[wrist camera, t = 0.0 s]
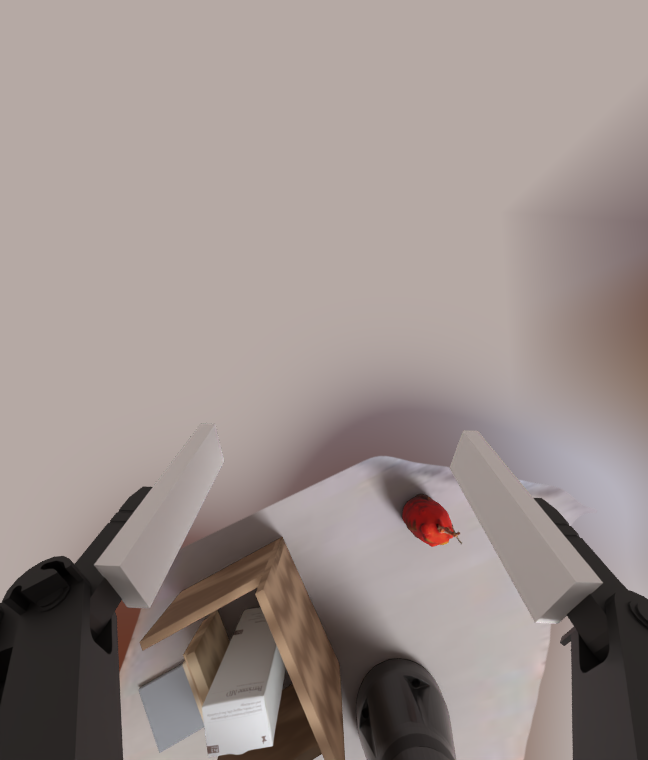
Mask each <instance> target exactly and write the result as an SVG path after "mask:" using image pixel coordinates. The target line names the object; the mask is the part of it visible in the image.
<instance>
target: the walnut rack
mask: <svg viewBox="0 0 648 760" xmlns="http://www.w3.org/2000/svg"><path fill="white" fill-rule="evenodd" d="M257 587H258V588H257ZM255 588H257V591H256V593H255V595H256V597H257V600H258V602H259V604H260V607H261V609H262V612H263V614H264V616H265V619H266V621H267V623H268V626H269V628H270V631H271V633H272V635H273V638H274V640H275V643H276V645H277V647H278V650H279V652H280V655H281V657H282V659H283V662H284V664H285V667H286V669H287V671H288V674H289V676H290V678H291V681H292V683H293V684H292V685H290V686H288V687H287V688H285V689H283V690H282V694H281V700H280V705H279V711H278V717H277V722H276V728H275V734H274V741H273V746H271V747H265V748H260V749H253V750H248V751H247V752H245V753H243V754H240V755H234V754H226V755H220V756H218V759H217V760H313V759H314V758H316V757H318V756H319V755H321V754H322V755H323V757H324V760H345V751H344V732H343V714H342V696H341V677H340V665H339V662H338V660H337V658H336V656H335V653H334V651H333V649H332V647H331V644H330V642H329V640H328V638H327V636H326V633H325V631H324V629H323V627H322V624H321V622H320V620H319V618H318V615H317V613H316V611H315V609H314V606H313V604H312V602H311V600H310V598H309V595H308V593H307V591H306V589H305V586H304V584H303V582H302V580H301V577H300V575H299V573H298V571H297V568H296V566H295V564H294V562H293V560H292V557H291V555H290V553H289V551H288V548H287V546H286V544H285V542H284V539H283V537H281V538H279V539H278V540H276V541H274V542H272V543H270V544H268V545H266V546H265V547H263V548H261V549H259V550H257V551H255V552H254V553H252V554H250V555H248V556H246V557H244V558H243V559H241V560H239V561H237V562H235V563H233V564H231V565H230V566H228V567H226V568H224V569H222V570H220V571H219V572H217V573H215V574H213V575H211V576H209V577H208V578H206V579H204V580H202V581H200V582H198V583H196V584H195V585H193V586H191V587H189V588H187V589H185V590H184V591H182V592H180V594H179V595H178V596H177V597H176V599H175V600H174V601H173V602H172V603H171V605H170V606H169V607H168V608H167V609H166V611H165V612H164V613H163V614H162V616H161V617H160V618H159V619H158V620H157V622H156V623H155V624H154V625H153V626H152V628H151V629H150V630H149V631H148V633H147V634H146V635H145V636H144V637H143V639H142V640H141V641H140V645H141V647H142V650H145V649H147V648H148V647H150V646H152V645H154V644H156V643H158V642H159V641H161V640H163V639H165V638H167V637H168V636H170V635H172V634H174V633H176V632H177V631H179V630H181V629H183V628H185V627H186V626H188V625H190V624H192V623H194V622H196V621H197V620H199V619H201V618H203V617H205V616H206V615H208V614H210V613H212V612H214V611H215V610H217V609H219V608H221V607H223V606H224V605H226V604H228V603H230V602H232V601H234V600H235V599H237V598H239V597H241V596H243V595H244V594H246V593H248V592H250V591H252V590H253V589H255Z"/></svg>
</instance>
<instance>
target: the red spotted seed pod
mask: <svg viewBox="0 0 648 760" xmlns="http://www.w3.org/2000/svg"><path fill="white" fill-rule="evenodd" d="M402 518H403V521H404V523H405V524H406V525H407V528H408V529H409V530H410V531H411V532H412V533H413V534H414V536H415V537H417V538H419V539H420V540H422V541H423V542H425V543H427V544H429V545H430V546H432V547H433V546H437V545H439V544H440V545H444V544H447V543H448V542H449V539H450V538H453V536H454V537H457V539H458V541H459V542H460V543H461V544H462V542H461V541H460V540H459V538H458V536H457V535H459V534H460V533H459V532H458V533H455V531H454V528H453V525H452V523H451V520H450V518H449V515H448V513H447V511H446V510H445V509H444V508H443V507H442V506H441V505H440V504H439V503H437V502H435V501H434V500H432V499H431V498H430V497H429V496H427V495H424V494H418V495H417V496H416V497H414V498H412V499H411V500H409V501H408V502H407V503H406V504H405V506H404V508H403V513H402Z"/></svg>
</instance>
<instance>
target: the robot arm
mask: <svg viewBox="0 0 648 760" xmlns="http://www.w3.org/2000/svg"><path fill="white" fill-rule="evenodd" d="M223 463H224V459H223V455H222V450H221V446H220V442H219V438H218V433H217V429H216V425H215V424H206V423H201V424H200V425H199V427H198V428H197V429H196V431H195V432H194V433H193V435H192V436H191V437H190V438H189V440H188V441H187V442H186V444H185V445H184V446H183V448H182V449H181V450H180V452H179V453H178V454H177V456H176V457H175V458H174V460H173V461H172V462H171V464H170V465H169V467H168V468H167V469H166V470H165V472H164V473H163V474H162V476H161V477H160V478H159V480H158V481H157V482H156V483H155V485H154V486H153V487H142V488H141V489H139V490H138V491H137V492H136V493H134V494H133V495H132V496H130V497H129V498H128V500H127V501H126V502H125V503H124V504H123V506H122V507H121V508H120V510H119V512H118V513H116V514H115V515H114V517H113V518H112V519H111V520H110V523H108V524H107V525H106V526H105V528H104V529H103V530H102V531H101V532H100V534H99V535H98V536H97V537H96V539H95V540H94V541H93V542H92V544H91V545H90V546H89V547H88V548H87V550H86V551H85V552H84V553H83V555H82V556H81V557H80V558H79V559H78V561H77V562H76V563H75V564H74V563H73V562H72V561H71V560H70V559H69V558H67V557H64V556H59V557H53V558H50V559H47V560H45V561H42V562H40V563H39V564H37V565H35V566H34V567H32V568H31V569H29V570H28V571H27V572H25V573H24V574H23V575H22V576H21V577H19V578H18V579H17V580H16V581H15V582H14V584H13V585H12V586H11V587H10V588H9V590H8V591H7V593H6V595H5V596H4V599H3V601H2V603H0V760H123V748H122V726H121V703H120V681H119V659H118V637H117V616H116V613H115V610H116V608H117V607H118V605H119V603H120V602H121V600H122V601H123V602H124V603H125V605H126V606H127V607H129V608H150V607H151V605H152V603H153V601H154V599H155V597H156V595H157V593H158V591H159V589H160V587H161V585H162V583H163V581H164V579H165V577H166V575H167V573H168V571H169V570H170V568H171V566H172V564H173V562H174V560H175V558H176V556H177V554H178V552H179V550H180V548H181V546H182V544H183V542H184V540H185V538H186V536H187V534H188V532H189V530H190V528H191V526H192V524H193V522H194V520H195V518H196V516H197V514H198V512H199V510H200V508H201V506H202V504H203V502H204V500H205V498H206V496H207V494H208V493H209V490H210V489H211V487H212V485H213V483H214V481H215V478H216V477H217V475H218V473H219V471H220V469H221V467H222V465H223ZM450 470H451V471H452V473H453V475H454V477H455V479H456V480H457V482H458V484H459V486H460V488H461V489H462V491H463V493H464V495H465V497H466V499H467V500H468V502H469V504H470V506H471V508H472V509H473V511H474V513H475V515H476V517H477V518H478V520H479V522H480V524H481V526H482V527H483V529H484V531H485V533H486V535H487V536H488V538H489V540H490V542H491V544H492V545H493V547H494V549H495V551H496V553H497V555H498V556H499V558H500V560H501V562H502V564H503V565H504V567H505V569H506V571H507V573H508V574H509V576H510V578H511V580H512V582H513V583H514V585H515V587H516V589H517V591H518V592H519V594H520V596H521V598H522V600H523V602H524V603H525V605H526V607H527V609H528V611H529V612H530V614H531V616H532V618H533V620H534V621H535V623H559V622H560V621H561V620H563V618H565V617H566V616H568V618H569V619H570V621H571V622H572V623H573V625H574V627H573V628H572V629H571V630H570V631H569V632H567V633H566V634H565V635H564V636H562V638H561V641H560V643H561V644H562V645H564V646H565V645H566V644H568V643H569V642H570V641H571V657H572V659H571V660H572V661H571V662H572V728H573V729H572V731H573V760H648V599H647V598H645V597H644V596H641V595H639V594H637V593H635V592H632V591H629V590H628V589H626V587H625V586H624V585H623V584H622V583H621V582H620V581H619V580H618V579H617V578H616V577H615V575H614V574H613V573H612V572H611V571H610V570H609V569H608V568H607V566H606V565H605V564H604V563H603V562H602V561H601V560H600V558H599V557H598V556H597V555H596V554H595V553H594V552H593V550H592V549H591V548H590V547H589V546H588V545H587V544H586V543H585V542H584V540H583V539H582V538H580V537H579V535H578V533H577V532H576V531H575V530H574V529H573V528H572V527H571V526H569V523H568V522H567V521H566V520H565V519H564V518H563V516H562V515H561V514H560V513H559V512H558V511H557V510H556V509H555V508H554V507H552V506H551V505H550V504H548V503H547V502H546V501H545V500H543V499H542V498H533V497H532V496H531V495H530V494H529V492H528V491H527V490H526V489H525V488H524V486H523V485H522V484H521V483H520V481H519V480H518V479H517V478H516V477H515V476H514V474H513V473H512V472H511V471H510V469H509V468H508V467H507V466H506V465H505V463H504V462H503V461H502V460H501V458H500V457H499V456H498V455H497V454H496V452H495V451H494V450H493V449H492V448H491V447H490V445H489V444H488V443H487V442H486V440H485V439H484V438H483V437H482V435H481V434H480V433H479V432H478V431H463V432H462V435H461V438H460V441H459V443H458V446H457V449H456V452H455V455H454V457H453V460H452V463H451V466H450ZM356 713H357V723H358V732H359V737H360V741H361V744H362V747H363V750H364V753H365V756H366V759H367V760H456V755H455V748H454V742H453V735H452V728H451V722H450V716H449V712H448V709H447V706H446V703H445V701H444V698H443V696H442V693H441V691H440V689H439V686H438V685H437V683H436V681H435V680H434V678H433V677H432V676H431V675H430V673H429V672H428V671H427V670H425V669H424V668H423V667H422V666H420V665H418V664H417V663H415V662H412V661H409V660H405V659H391V660H387V661H384V662H382V663H380V664H379V665H377V666H376V667H374V668H373V669H372V670H371V671H370V672H369V673H368V674H367V676H366V677H365V679H364V680H363V682H362V684H361V686H360V689H359V692H358V696H357V704H356Z"/></svg>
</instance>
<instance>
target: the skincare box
mask: <svg viewBox="0 0 648 760" xmlns="http://www.w3.org/2000/svg"><path fill="white" fill-rule="evenodd" d="M285 671H286V667H285V664H284V662H283V659H282V657H281V655H280V652H279V650H278V647H277V645H276V643H275V640H274V638H273V635H272V633H271V631H270V628H269V626H268V623H267V621H266V619H265V616H264V614H263V612H262V609H261V607H259V608H253V609H246V610H244V611H243V614H242V616H241V618H240V621H239V623H238V625H237V627H236V630H235V632H234V634H233V637H232V639H231V641H230V644H229V646H228V648H227V651H226V653H225V655H224V657H223V660H222V662H221V664H220V667H219V669H218V671H217V673H216V676H215V678H214V680H213V683H212V685H211V687H210V690H209V692H208V694H207V696H206V699H205V701H204V703H203V706H202V714H203V722H204V729H205V737H206V745H207V751H208V758H210V757H215V756H220V755H226V754H234V755H240V754H243V753H245V752H247V751H248V750H253V749H260V748H265V747H271V746H273V741H274V734H275V728H276V722H277V717H278V711H279V705H280V700H281V694H282V688H283V682H284V677H285Z"/></svg>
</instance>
